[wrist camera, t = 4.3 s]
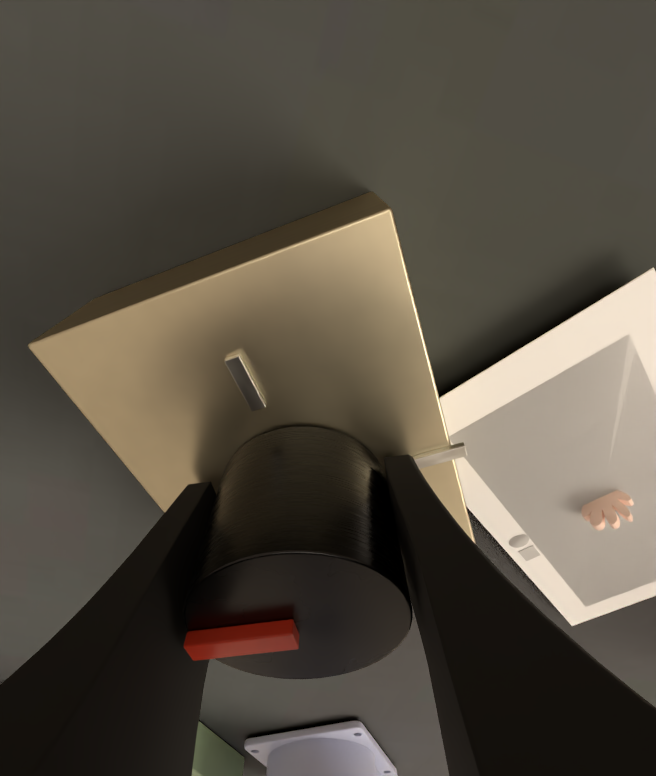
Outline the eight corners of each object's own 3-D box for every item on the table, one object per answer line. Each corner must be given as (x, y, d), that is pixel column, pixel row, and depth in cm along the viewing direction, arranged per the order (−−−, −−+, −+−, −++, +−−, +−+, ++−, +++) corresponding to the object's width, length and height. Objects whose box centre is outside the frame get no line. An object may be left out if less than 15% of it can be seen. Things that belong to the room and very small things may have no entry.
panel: (458, 479, 15) (490, 555, 12) (246, 534, 16) (231, 613, 13) (384, 185, 10) (409, 201, 7) (84, 302, 11) (7, 353, 8)
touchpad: (625, 257, 11) (686, 279, 9) (735, 535, 17) (785, 582, 15) (389, 405, 14) (400, 447, 12) (560, 603, 20) (584, 650, 18)
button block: (245, 757, 28) (234, 841, 25) (113, 778, 30) (87, 860, 27) (138, 671, 22) (104, 769, 18) (-22, 704, 23) (-81, 800, 20)
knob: (377, 412, 9) (407, 552, 6) (394, 534, 12) (423, 684, 8) (197, 440, 10) (136, 587, 7) (247, 553, 12) (220, 705, 9)
